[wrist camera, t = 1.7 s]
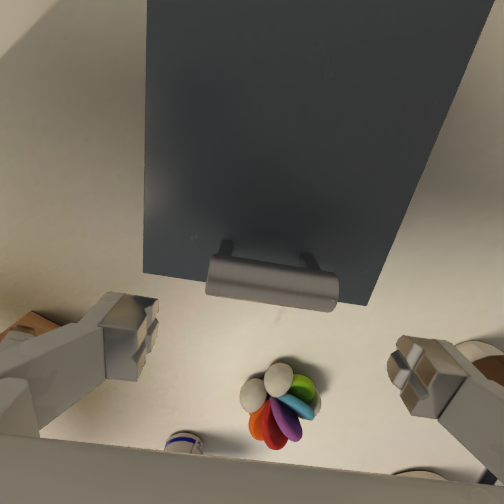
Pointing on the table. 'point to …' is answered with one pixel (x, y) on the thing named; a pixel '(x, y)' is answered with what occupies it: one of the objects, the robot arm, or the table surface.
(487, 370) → the coffee cup
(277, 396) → the rainbow fanned disc toy
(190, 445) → the beverage can
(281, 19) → the box lid
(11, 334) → the small box
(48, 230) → the table surface
